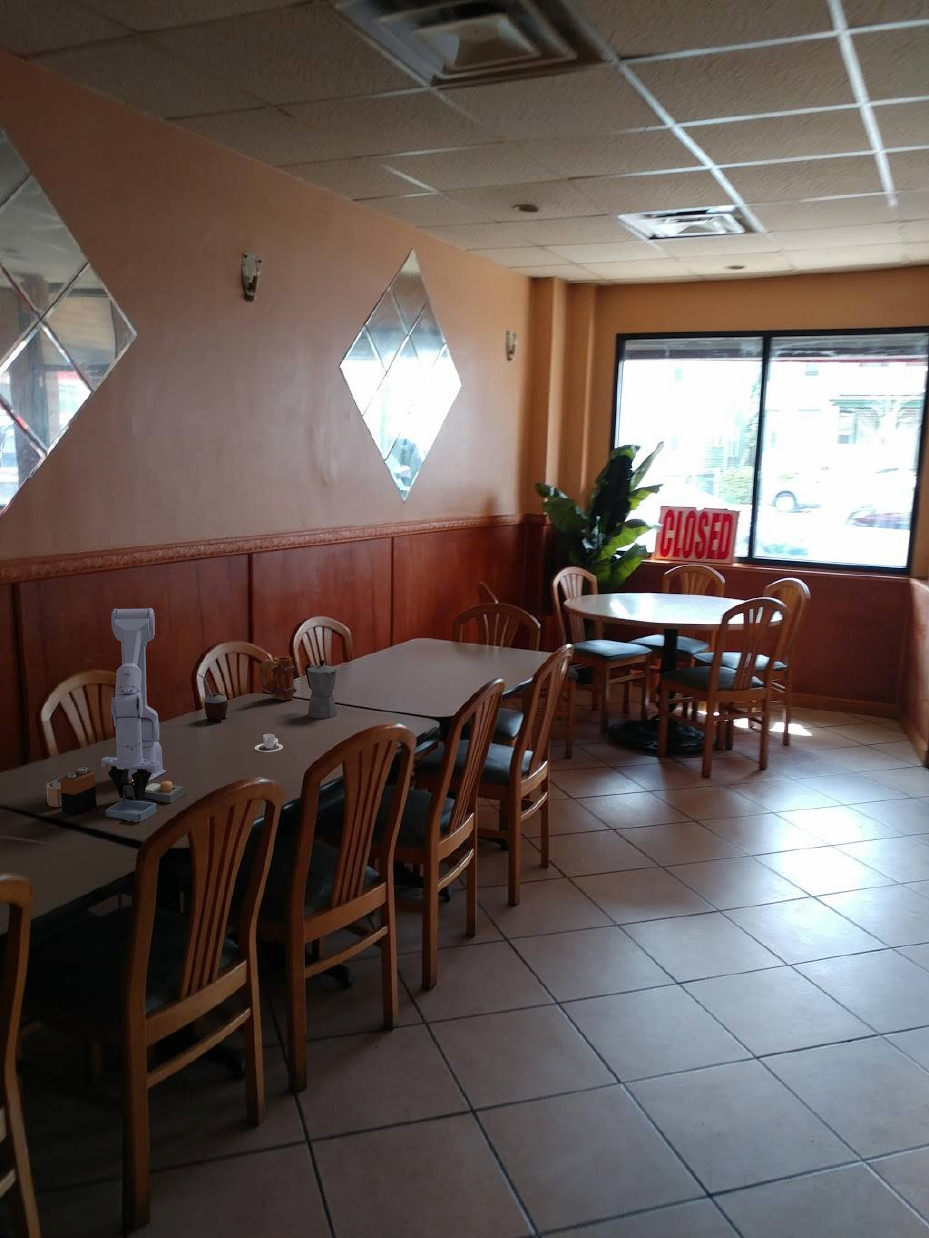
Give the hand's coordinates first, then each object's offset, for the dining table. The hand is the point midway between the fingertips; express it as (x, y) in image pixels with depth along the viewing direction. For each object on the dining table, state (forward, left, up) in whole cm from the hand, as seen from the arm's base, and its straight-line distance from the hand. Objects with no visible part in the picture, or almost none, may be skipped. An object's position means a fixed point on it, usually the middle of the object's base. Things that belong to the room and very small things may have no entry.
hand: (131, 797), depth 224 cm
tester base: (-6, +4, -1) cm, 7 cm away
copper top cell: (0, 0, -1) cm, 1 cm away
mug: (-94, -9, -2) cm, 94 cm away
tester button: (-6, +6, -1) cm, 8 cm away
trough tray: (+6, +4, -1) cm, 7 cm away
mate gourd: (-67, -17, -2) cm, 69 cm away
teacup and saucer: (-50, +14, -2) cm, 52 cm away
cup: (+5, -16, -1) cm, 16 cm away
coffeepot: (-84, +11, -2) cm, 85 cm away
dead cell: (+5, -16, -1) cm, 16 cm away
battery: (+8, -9, -2) cm, 12 cm away
